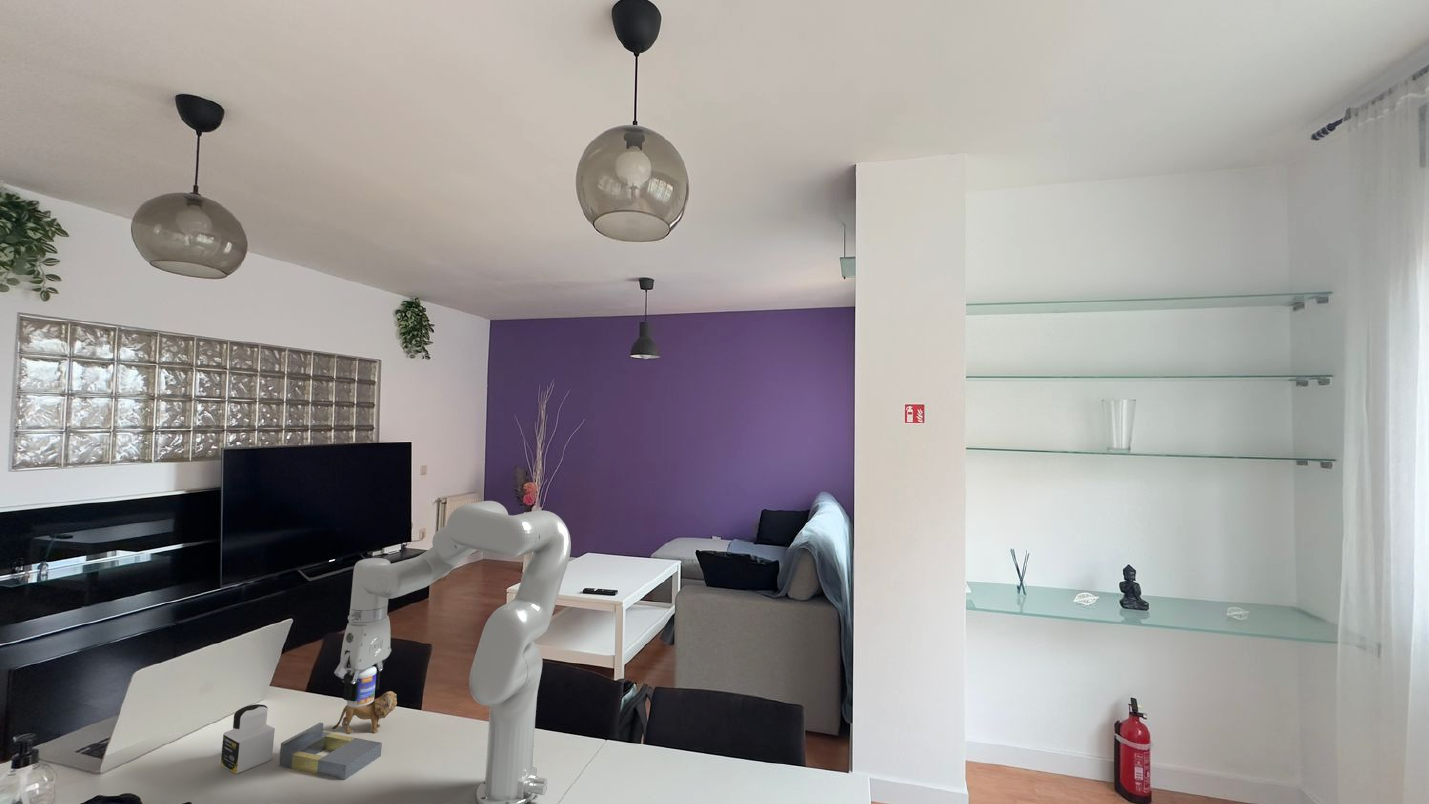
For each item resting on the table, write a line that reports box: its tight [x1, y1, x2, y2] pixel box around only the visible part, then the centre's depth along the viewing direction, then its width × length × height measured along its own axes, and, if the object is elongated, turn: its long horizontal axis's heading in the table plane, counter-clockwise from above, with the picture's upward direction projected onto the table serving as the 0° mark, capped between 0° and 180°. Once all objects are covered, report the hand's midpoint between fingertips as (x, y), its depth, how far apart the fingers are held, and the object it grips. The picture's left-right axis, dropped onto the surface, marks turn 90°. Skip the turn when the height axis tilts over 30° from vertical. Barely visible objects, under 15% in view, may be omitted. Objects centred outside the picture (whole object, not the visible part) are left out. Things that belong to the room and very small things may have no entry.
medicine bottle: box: [220, 704, 276, 775], centre depth 133 cm, size 7×7×12 cm
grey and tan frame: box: [278, 722, 383, 781], centre depth 134 cm, size 18×10×5 cm, turn 77°
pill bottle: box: [346, 666, 377, 707], centre depth 134 cm, size 5×5×10 cm
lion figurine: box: [331, 690, 398, 734], centre depth 149 cm, size 15×5×9 cm, turn 103°
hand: (361, 693), depth 134 cm, fingers closed on pill bottle, 5 cm apart
